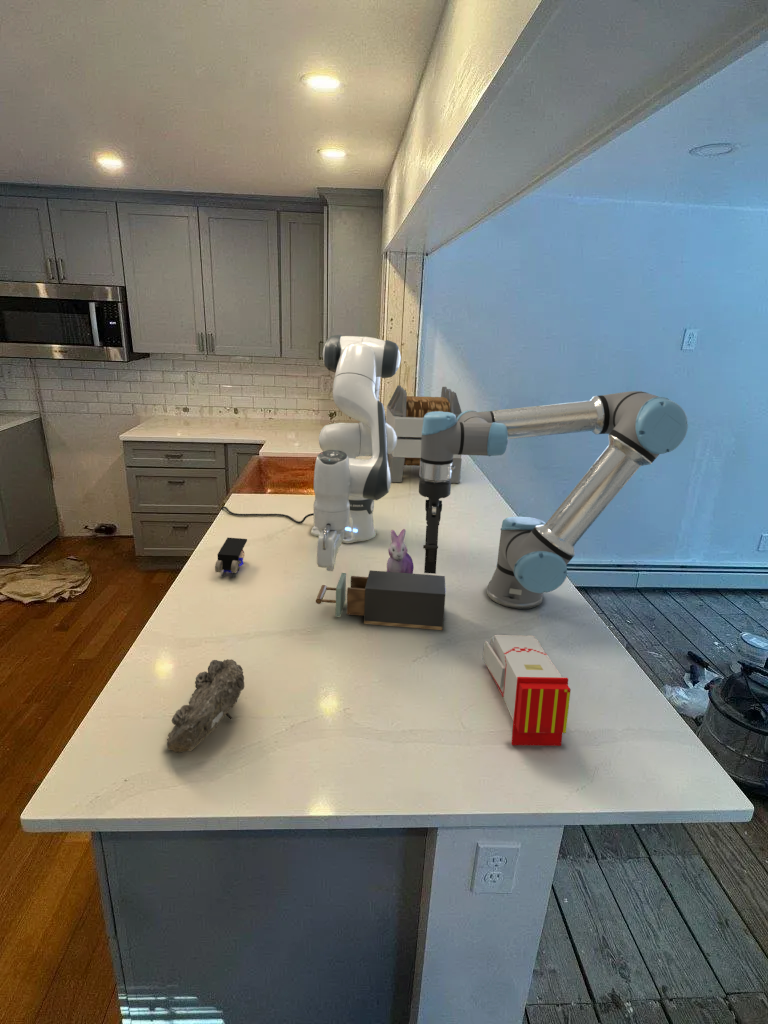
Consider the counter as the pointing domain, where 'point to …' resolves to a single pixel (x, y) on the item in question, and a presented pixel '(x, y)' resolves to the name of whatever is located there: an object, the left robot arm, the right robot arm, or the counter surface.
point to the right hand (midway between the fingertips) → (430, 560)
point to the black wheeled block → (230, 556)
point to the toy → (529, 689)
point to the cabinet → (404, 600)
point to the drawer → (353, 595)
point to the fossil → (206, 705)
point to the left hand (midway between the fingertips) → (331, 568)
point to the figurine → (399, 555)
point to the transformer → (416, 428)
